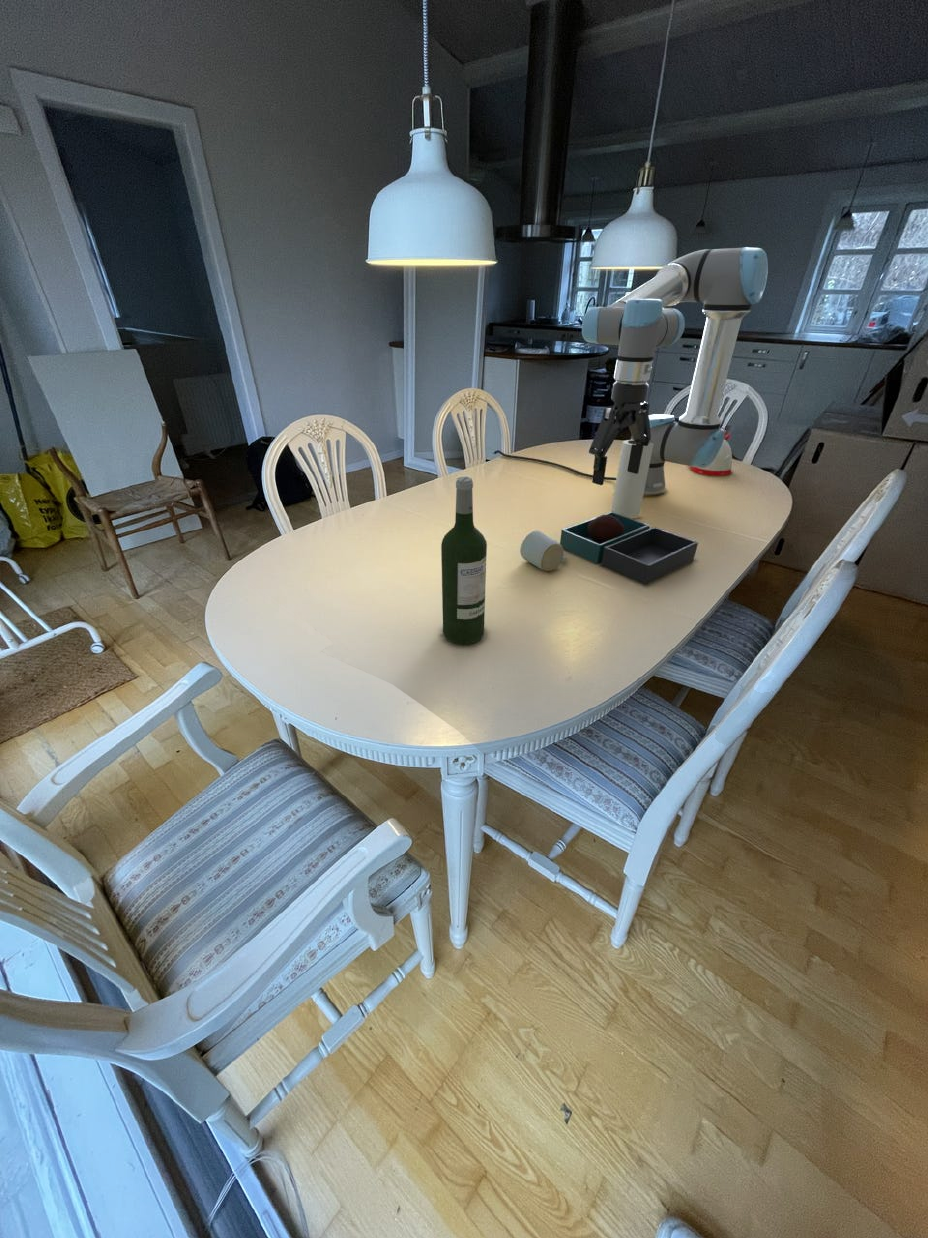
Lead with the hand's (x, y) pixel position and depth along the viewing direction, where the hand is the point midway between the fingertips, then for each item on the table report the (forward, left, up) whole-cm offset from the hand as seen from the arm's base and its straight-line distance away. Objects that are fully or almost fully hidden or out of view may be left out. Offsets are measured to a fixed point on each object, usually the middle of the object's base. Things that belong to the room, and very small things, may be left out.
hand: (615, 477), depth 123 cm
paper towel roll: (-9, +20, -18) cm, 28 cm away
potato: (0, -1, -17) cm, 17 cm away
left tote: (0, 0, -18) cm, 18 cm away
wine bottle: (+9, -54, -18) cm, 58 cm away
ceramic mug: (-2, -20, -18) cm, 27 cm away
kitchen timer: (-18, +85, -18) cm, 88 cm away
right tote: (+13, 0, -18) cm, 22 cm away
